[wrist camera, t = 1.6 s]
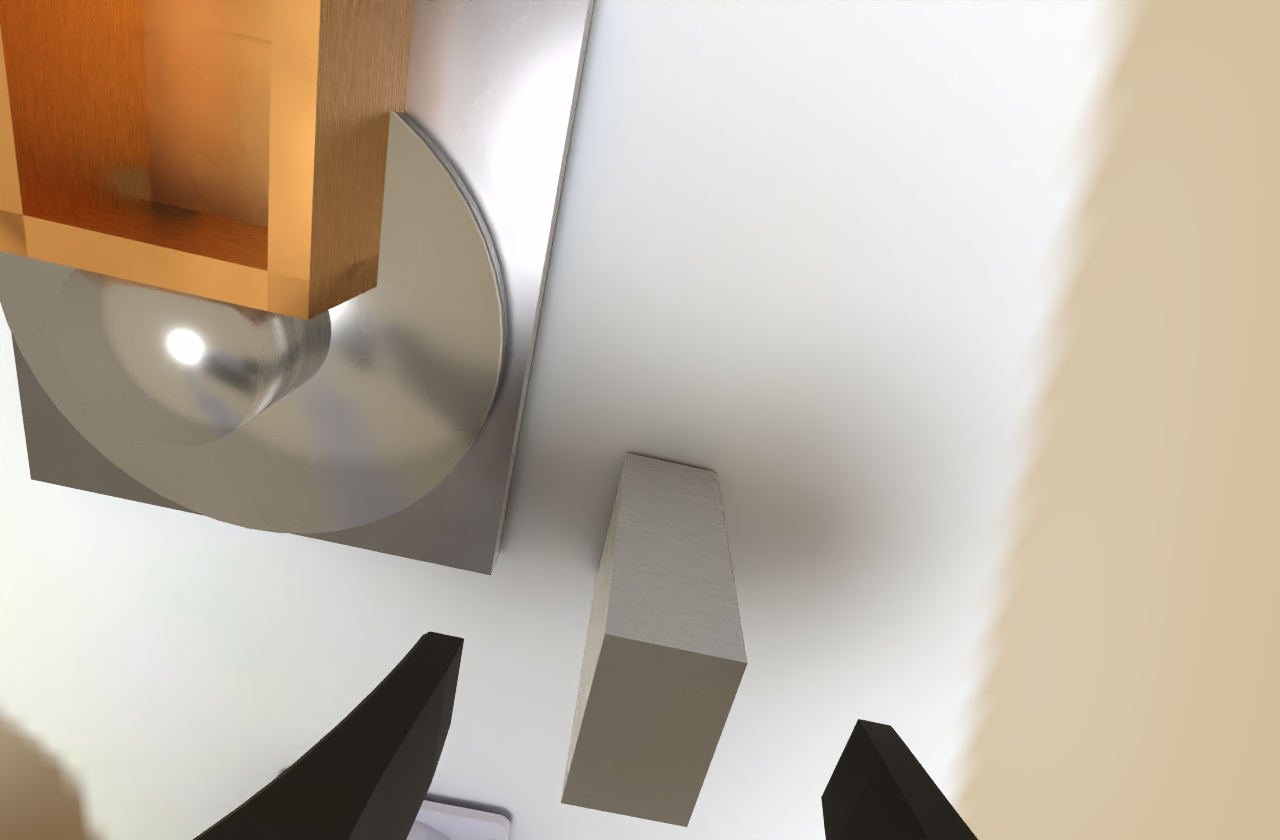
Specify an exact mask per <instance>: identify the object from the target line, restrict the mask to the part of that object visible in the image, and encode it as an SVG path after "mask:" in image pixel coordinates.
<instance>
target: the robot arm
mask: <svg viewBox="0 0 1280 840" xmlns="http://www.w3.org/2000/svg"><path fill="white" fill-rule="evenodd" d="M463 642H464V638H459V637H454V636H449V635H444V634H439V633H435V632H428V633H426V634H424V635H422V637H421V638H420V639H419V640H418V642H417V643H416V644H415V645H414V647H413V648H412V649H411V650H410V651H409V652H408V654H407V655H406V656H405V657H404V658H403V659H402V660H401V661H400V663H399V664H398V665H397V666H396V667H395V668H394V669H393V670H392V671H391V672H390V673H389V674H388V675H387V677H386V678H385V679H384V680H383V681H382V682H381V683H380V684H379V685H378V686H377V687H376V688H375V689H374V690H373V691H372V692H371V693H370V694H369V695H368V696H367V697H366V698H365V699H364V700H363V701H362V702H361V703H360V704H359V705H358V706H357V707H356V708H355V709H354V710H353V711H352V712H351V713H350V714H349V715H347V716H346V717H345V718H344V719H343V720H342V721H341V722H340V723H339V724H338V725H337V726H336V727H335V728H333V729H332V730H331V731H330V732H329V733H328V734H327V735H326V736H324V737H323V738H322V739H321V740H320V741H319V742H318V743H317V744H315V745H314V746H313V747H312V748H311V749H310V750H309V751H307V752H306V753H305V754H304V755H303V756H302V757H301V758H300V759H298V760H297V761H296V762H295V763H294V764H292V765H291V766H290V767H289V768H288V769H286V770H285V771H284V772H283V773H281V774H280V775H279V776H277V777H276V778H275V779H274V780H273V781H272V782H270V783H269V784H268V785H267V786H265V787H264V788H263V789H261V790H260V791H259V792H257V793H256V794H255V795H254V796H252V797H251V798H250V799H248V800H247V801H246V802H244V803H243V804H242V805H241V806H239V807H238V808H236V809H235V810H234V811H232V812H231V813H230V814H228V815H227V816H225V817H224V818H223V819H221V820H220V821H218V822H217V823H216V824H214V825H213V826H211V827H210V828H208V829H207V830H206V831H204V832H203V833H201V834H200V835H199V836H197V837H196V838H194V839H193V840H508V839H509V835H510V830H511V823H510V821H509V820H508V819H507V818H506V817H504V816H502V815H499V814H495V813H489V812H484V811H479V810H474V809H468V808H463V807H458V806H452V805H447V804H442V803H437V802H431V801H426V800H424V798H425V796H426V794H427V791H428V789H429V787H430V785H431V782H432V779H433V776H434V773H435V770H436V767H437V764H438V761H439V758H440V755H441V752H442V749H443V746H444V743H445V740H446V736H447V733H448V730H449V727H450V724H451V718H452V711H453V705H454V699H455V693H456V686H457V680H458V674H459V667H460V661H461V655H462V649H463ZM821 798H822V807H823V817H824V827H825V836H826V840H978V839H977V838H976V836H975V835H974V834H973V833H972V831H971V830H970V829H969V827H968V826H967V825H966V823H965V822H964V821H963V820H962V818H961V817H960V816H959V814H958V813H957V812H956V810H955V809H954V808H953V807H952V805H951V804H950V803H949V801H948V800H947V799H946V797H945V796H944V795H943V793H942V792H941V791H940V789H939V788H938V787H937V785H936V784H935V783H934V781H933V780H932V779H931V777H930V776H929V775H928V773H927V772H926V771H925V769H924V768H923V767H922V765H921V764H920V763H919V762H918V760H917V759H916V758H915V756H914V755H913V754H912V752H911V751H910V750H909V748H908V747H907V746H906V744H905V743H904V742H903V740H902V739H901V738H900V737H899V735H898V734H897V733H896V732H895V730H894V729H893V728H892V727H891V726H890V725H885V724H880V723H875V722H870V721H865V720H860V719H858V721H857V723H856V725H855V727H854V730H853V732H852V734H851V736H850V738H849V740H848V742H847V744H846V747H845V749H844V751H843V753H842V755H841V757H840V759H839V761H838V763H837V766H836V768H835V770H834V772H833V774H832V776H831V778H830V780H829V782H828V785H827V787H826V789H825V791H824V793H823V795H822V797H821Z"/></svg>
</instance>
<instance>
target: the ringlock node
mask: <svg viewBox="0 0 1280 840" xmlns="http://www.w3.org/2000/svg"><path fill="white" fill-rule="evenodd" d="M593 6H594V0H0V302H1V305H2V308H3V311H4V314H5V317H6V320H7V323H8V325H9V328H10V330H11V332H12V340H13V347H14V355H15V362H16V370H17V377H18V385H19V392H20V400H21V407H22V415H23V422H24V430H25V437H26V445H27V452H28V460H29V467H30V474H31V479H32V480H37V481H42V482H47V483H51V484H56V485H61V486H66V487H71V488H75V489H80V490H85V491H90V492H95V493H99V494H104V495H109V496H114V497H119V498H123V499H128V500H133V501H138V502H143V503H147V504H152V505H157V506H162V507H166V508H171V509H176V510H181V511H186V512H190V513H195V514H200V515H205V516H208V517H211V518H213V519H216V520H219V521H223V522H227V523H230V524H234V525H238V526H242V527H246V528H250V529H257V530H263V531H270V532H276V533H291V534H296V535H301V536H305V537H310V538H315V539H320V540H325V541H329V542H334V543H339V544H344V545H349V546H353V547H358V548H363V549H368V550H373V551H377V552H382V553H387V554H392V555H397V556H401V557H406V558H411V559H416V560H421V561H425V562H430V563H435V564H440V565H445V566H449V567H454V568H459V569H464V570H468V571H473V572H478V573H483V574H488V575H491V573H492V571H493V568H494V566H495V563H496V561H497V558H498V553H499V547H500V541H501V535H502V530H503V524H504V518H505V512H506V507H507V501H508V495H509V489H510V484H511V478H512V472H513V466H514V461H515V455H516V449H517V443H518V438H519V432H520V426H521V420H522V415H523V409H524V403H525V397H526V391H527V386H528V380H529V374H530V368H531V363H532V357H533V351H534V345H535V340H536V334H537V328H538V322H539V317H540V311H541V305H542V299H543V294H544V288H545V282H546V276H547V271H548V265H549V259H550V253H551V248H552V242H553V236H554V230H555V225H556V219H557V213H558V207H559V202H560V196H561V190H562V184H563V179H564V173H565V167H566V161H567V156H568V150H569V144H570V138H571V133H572V127H573V121H574V115H575V110H576V104H577V98H578V92H579V87H580V81H581V75H582V69H583V64H584V58H585V52H586V46H587V41H588V35H589V29H590V23H591V18H592V12H593Z"/></svg>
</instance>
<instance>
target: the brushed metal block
mask: <svg viewBox="0 0 1280 840" xmlns="http://www.w3.org/2000/svg"><path fill="white" fill-rule="evenodd" d="M746 665H747V658H746V652H745V646H744V640H743V633H742V627H741V621H740V615H739V609H738V602H737V596H736V590H735V584H734V578H733V571H732V565H731V559H730V553H729V547H728V540H727V534H726V528H725V522H724V515H723V509H722V503H721V497H720V491H719V484H718V478H717V472H713V471H709V470H704V469H700V468H695V467H691V466H686V465H681V464H677V463H672V462H668V461H663V460H659V459H654V458H650V457H645V456H641V455H636V454H632V453H626V457H625V461H624V466H623V470H622V474H621V478H620V482H619V486H618V490H617V494H616V498H615V503H614V507H613V511H612V515H611V519H610V523H609V527H608V531H607V535H606V539H605V544H604V548H603V552H602V556H601V560H600V564H599V568H598V572H597V576H596V582H595V588H594V595H593V601H592V607H591V614H590V620H589V627H588V633H587V639H586V646H585V652H584V659H583V665H582V671H581V678H580V684H579V691H578V697H577V703H576V710H575V716H574V723H573V729H572V735H571V742H570V748H569V755H568V761H567V767H566V774H565V780H564V787H563V793H562V799H561V803H564V804H569V805H575V806H580V807H585V808H590V809H596V810H601V811H606V812H611V813H617V814H622V815H627V816H632V817H638V818H643V819H648V820H653V821H659V822H664V823H669V824H674V825H680V826H685V827H687V825H688V823H689V820H690V817H691V815H692V812H693V809H694V806H695V804H696V801H697V798H698V796H699V793H700V790H701V787H702V785H703V782H704V779H705V777H706V774H707V771H708V768H709V766H710V763H711V760H712V758H713V755H714V752H715V749H716V747H717V744H718V741H719V739H720V736H721V733H722V730H723V728H724V725H725V722H726V720H727V717H728V714H729V711H730V709H731V706H732V703H733V701H734V698H735V695H736V692H737V690H738V687H739V684H740V682H741V679H742V676H743V673H744V671H745V668H746Z"/></svg>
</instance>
